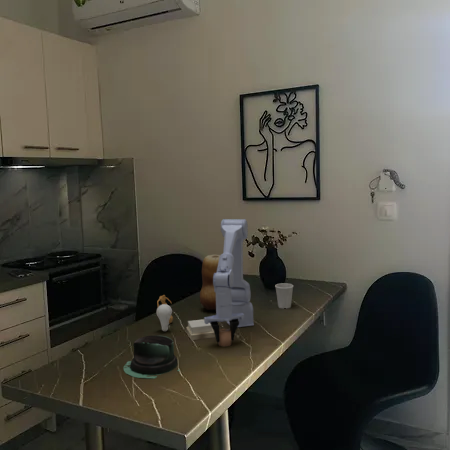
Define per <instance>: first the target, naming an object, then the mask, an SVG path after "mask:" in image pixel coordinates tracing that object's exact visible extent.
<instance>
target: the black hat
mask: <svg viewBox="0 0 450 450" xmlns="http://www.w3.org/2000/svg"><path fill="white" fill-rule="evenodd" d="M174 348H175V347H174V340H173V339H172V338H170V337H169V336H166V335H165V336H164V335H146V336H141V337H139V338H138V339H136V340H135V341H134V342H133V358H132V360H128V361H127V362H126V363H125V365H124V366H123V371H124V373H125V374H126V375H129V376H131V377H133V378H138V379H139V378H141V379H157V378H158V376H161V375H164V374H167V373H169V372H172V371H173V370H174V369H176V368H177V366H178V359H177V357H176V355H175V349H174ZM180 371H181V370H180V368H179V369H178V370H177V372H180Z"/></svg>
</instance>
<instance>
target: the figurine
mask: <svg viewBox="0 0 450 450" xmlns="http://www.w3.org/2000/svg"><path fill="white" fill-rule="evenodd" d="M166 300H168V302H170V304H171V305H172V301H171V300H170V299H169V297H166V295H165V294H163V295H160V296H159V298H158V300H157V302H156V303H157V308H158V307H159V306H160V304H159V302H160V303H161V305H162V304H167V302H166ZM167 305H168V304H167ZM173 320H174V317H173V315H171V317H170V319H169V324H171V323H172V322H173Z"/></svg>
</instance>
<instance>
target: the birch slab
mask: <svg viewBox="0 0 450 450" xmlns="http://www.w3.org/2000/svg"><path fill="white" fill-rule="evenodd" d="M185 329H186V331H185V332H186V334H187V335H188V337H189V339H190V340H191V341H196V340H202V339H203V340H204V339H212V338H216V337H215V333H214V330H213V328H212V332H204V333H196V334H192V333H191V331H190V330H189V328H188V326H186V327H185Z"/></svg>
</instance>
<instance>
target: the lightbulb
mask: <svg viewBox="0 0 450 450" xmlns="http://www.w3.org/2000/svg"><path fill="white" fill-rule="evenodd" d="M172 314H173V310H172V307H171V306H170V305H168V304H162V303H161V304H159V307H158V306H157V308H156V316H157V317H158V319H159V323H160V326H161V331H163V332H167V331H169V324H170V323H169V319H170V317H171V315H172ZM172 316H173V315H172Z"/></svg>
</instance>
